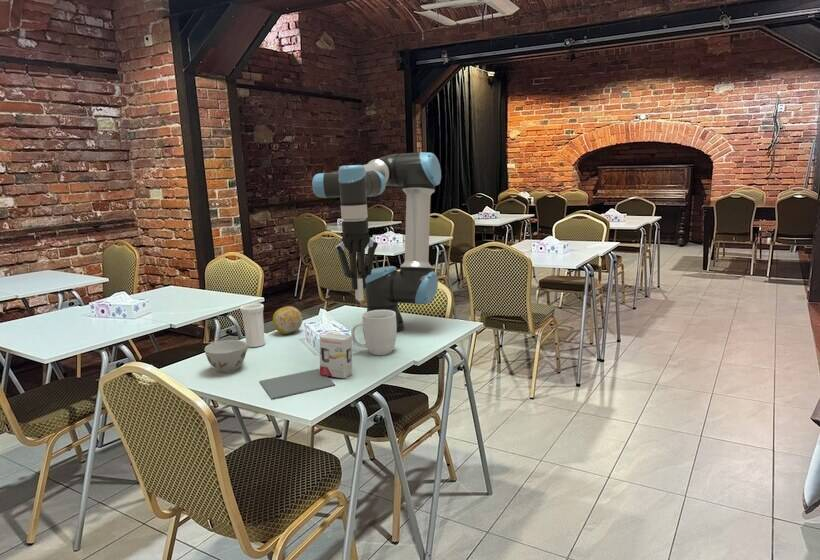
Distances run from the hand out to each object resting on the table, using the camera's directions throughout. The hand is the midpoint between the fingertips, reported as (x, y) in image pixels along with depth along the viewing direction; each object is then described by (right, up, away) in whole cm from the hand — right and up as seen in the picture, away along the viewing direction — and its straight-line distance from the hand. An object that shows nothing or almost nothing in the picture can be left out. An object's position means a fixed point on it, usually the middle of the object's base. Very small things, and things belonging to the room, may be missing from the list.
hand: (359, 299), depth 171 cm
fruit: (-31, -14, +47) cm, 58 cm away
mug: (+4, -18, +20) cm, 27 cm away
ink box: (-7, -22, +1) cm, 23 cm away
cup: (-40, -17, +34) cm, 55 cm away
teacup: (-41, -22, +11) cm, 48 cm away
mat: (-18, -24, -5) cm, 30 cm away
